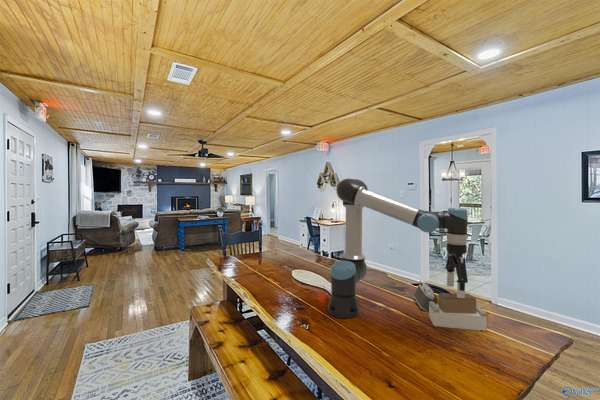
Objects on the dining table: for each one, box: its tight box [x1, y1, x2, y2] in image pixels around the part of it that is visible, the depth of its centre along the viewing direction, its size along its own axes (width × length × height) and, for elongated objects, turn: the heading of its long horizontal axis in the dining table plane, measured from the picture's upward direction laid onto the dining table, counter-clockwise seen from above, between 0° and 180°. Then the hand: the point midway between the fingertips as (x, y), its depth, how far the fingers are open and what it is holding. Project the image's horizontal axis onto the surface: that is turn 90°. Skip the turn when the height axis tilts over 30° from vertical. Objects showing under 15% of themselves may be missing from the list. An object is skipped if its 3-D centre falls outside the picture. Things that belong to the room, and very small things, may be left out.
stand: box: [428, 301, 488, 332], centre depth 117 cm, size 20×9×7 cm, turn 77°
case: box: [437, 292, 477, 313], centre depth 117 cm, size 13×6×6 cm, turn 85°
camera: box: [413, 282, 438, 311], centre depth 137 cm, size 9×16×10 cm, turn 172°
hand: (455, 291), depth 117 cm, fingers open, 13 cm apart
